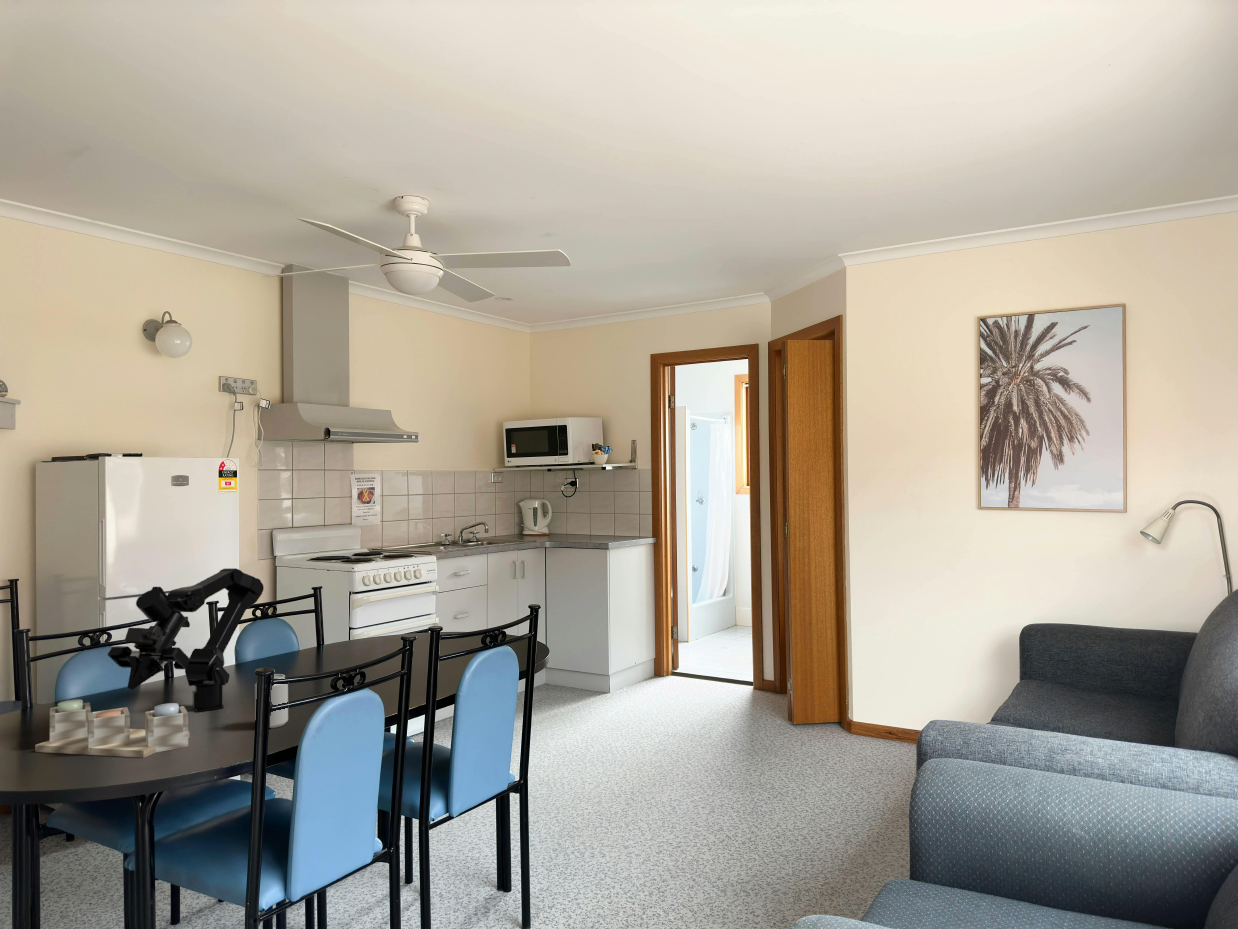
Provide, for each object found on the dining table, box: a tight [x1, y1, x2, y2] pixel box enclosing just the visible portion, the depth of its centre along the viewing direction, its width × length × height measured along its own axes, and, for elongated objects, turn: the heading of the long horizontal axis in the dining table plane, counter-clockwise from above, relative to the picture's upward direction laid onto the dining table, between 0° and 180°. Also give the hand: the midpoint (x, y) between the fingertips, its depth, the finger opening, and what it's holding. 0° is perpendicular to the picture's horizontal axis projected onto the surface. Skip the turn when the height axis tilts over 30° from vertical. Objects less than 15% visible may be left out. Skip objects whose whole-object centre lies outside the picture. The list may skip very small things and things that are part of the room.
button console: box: [34, 702, 191, 759], centre depth 187 cm, size 14×37×8 cm, turn 79°
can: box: [254, 673, 289, 729], centre depth 200 cm, size 8×8×12 cm
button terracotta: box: [96, 711, 121, 718], centre depth 185 cm, size 5×5×3 cm
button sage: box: [57, 698, 84, 713], centre depth 190 cm, size 5×5×3 cm
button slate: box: [153, 702, 180, 717], centre depth 185 cm, size 5×5×3 cm
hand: (129, 688), depth 191 cm, fingers closed
